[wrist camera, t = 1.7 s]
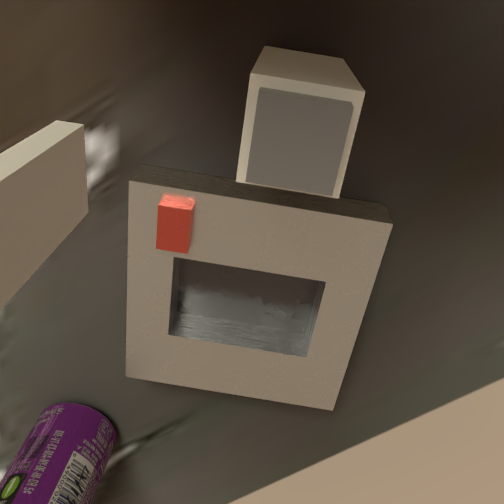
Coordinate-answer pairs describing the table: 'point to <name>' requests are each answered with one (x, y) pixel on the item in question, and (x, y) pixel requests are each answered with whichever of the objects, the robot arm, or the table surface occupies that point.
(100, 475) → the beverage can
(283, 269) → the socket block
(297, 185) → the plug
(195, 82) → the table surface
